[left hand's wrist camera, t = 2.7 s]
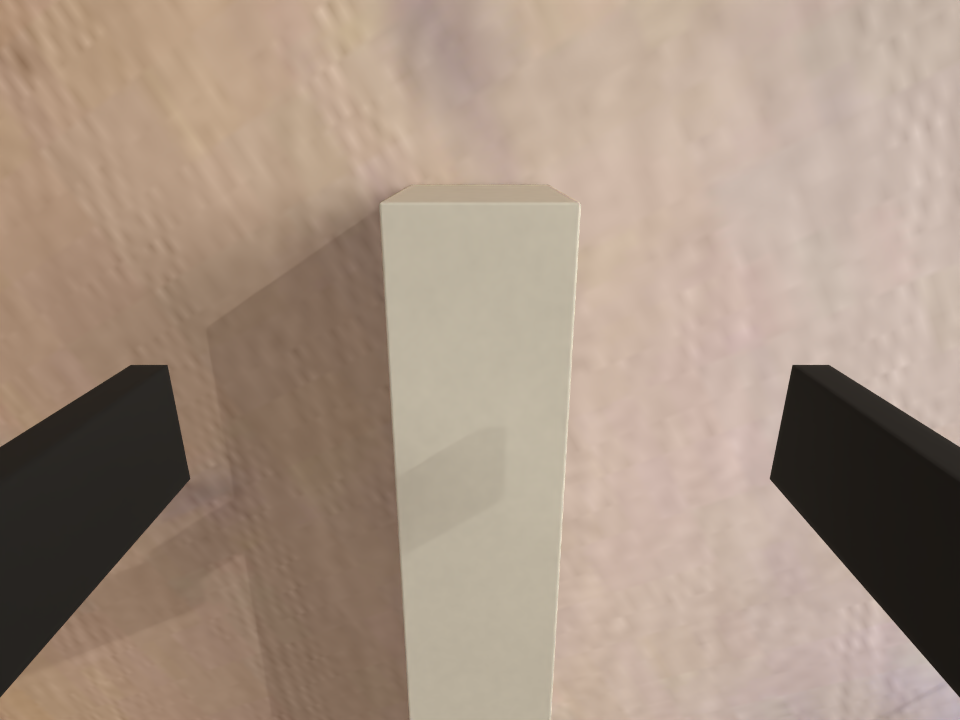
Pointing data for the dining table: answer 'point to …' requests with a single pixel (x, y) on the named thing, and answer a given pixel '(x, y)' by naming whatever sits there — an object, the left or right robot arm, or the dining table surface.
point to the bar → (479, 437)
